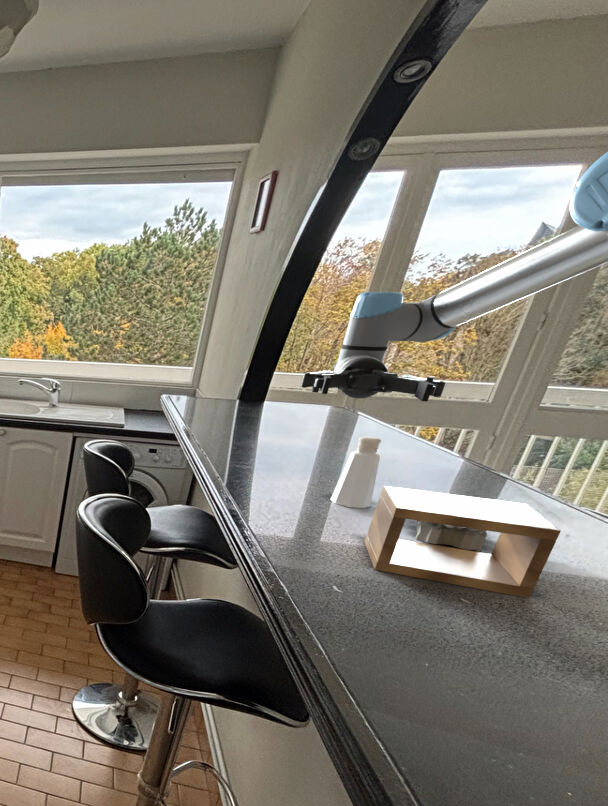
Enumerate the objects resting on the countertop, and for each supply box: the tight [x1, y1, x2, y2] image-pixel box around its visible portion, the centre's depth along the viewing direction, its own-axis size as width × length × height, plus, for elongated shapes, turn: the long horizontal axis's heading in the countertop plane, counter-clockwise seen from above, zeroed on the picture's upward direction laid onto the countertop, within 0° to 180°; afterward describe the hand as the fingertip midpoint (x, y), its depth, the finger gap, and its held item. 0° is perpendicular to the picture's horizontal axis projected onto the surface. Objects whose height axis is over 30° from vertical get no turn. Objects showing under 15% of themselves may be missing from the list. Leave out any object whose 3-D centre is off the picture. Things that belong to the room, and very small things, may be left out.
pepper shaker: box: [330, 436, 382, 509], centre depth 96 cm, size 5×5×11 cm
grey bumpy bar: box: [415, 520, 488, 552], centre depth 83 cm, size 11×8×4 cm
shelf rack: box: [364, 485, 562, 599], centre depth 73 cm, size 14×11×8 cm
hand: (375, 389), depth 99 cm, fingers open, 13 cm apart
